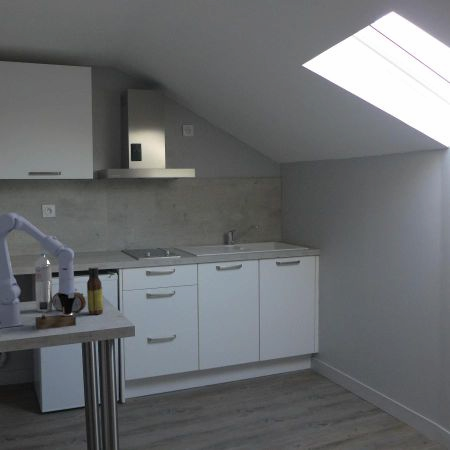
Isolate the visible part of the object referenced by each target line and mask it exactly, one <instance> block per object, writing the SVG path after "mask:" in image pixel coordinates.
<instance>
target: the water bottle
mask: <svg viewBox="0 0 450 450" xmlns="http://www.w3.org/2000/svg"><path fill="white" fill-rule="evenodd" d="M34 267H35V280H34V281H35V282H34V283H35V285H34V286H35V309H36V311H37V309H38V308H40V305H39V302H48V307H49V308H50V311H49V312H51V311H53V303H52V298H53V280H52V278H53V277H52V276H53V275H52V262H51V260H50V259H49V258H48V257H47V256H46V253H45V252H42V253H40V256H39V258H37V259H36V261H35V263H34ZM45 313H48V311H46V312H45Z"/></svg>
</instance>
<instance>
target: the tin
mask: <svg viewBox="0 0 450 450" xmlns="http://www.w3.org/2000/svg"><path fill="white" fill-rule="evenodd" d="M58 294H61V293H59V291H58V292H57V293H55V294H54V295H52V307H54V308H55V310H57V311H59V312H63V310H62V305H61V302H60V299H59V297H58ZM74 296H76V299H75V300H74V303H73V306H72V311H71V312H73V313H79V312H81V311H83V310H84V309H85V308H86V298H85V296H84V295H83V294H81V293H80V292H77V291H74Z"/></svg>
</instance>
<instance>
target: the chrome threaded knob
mask: <svg viewBox="0 0 450 450" xmlns="http://www.w3.org/2000/svg"><path fill="white" fill-rule="evenodd" d="M39 305H40V308H38V309H37V310H36V312H38V313H41V317H42V319H45V316H46V313H47V312H46V311H49V312H51V311H50V308H49V307H48V302H39Z"/></svg>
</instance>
